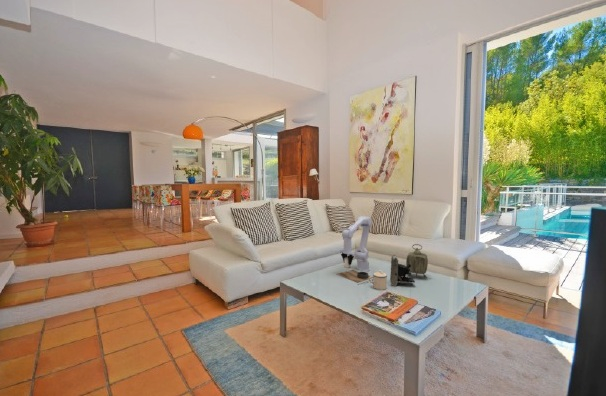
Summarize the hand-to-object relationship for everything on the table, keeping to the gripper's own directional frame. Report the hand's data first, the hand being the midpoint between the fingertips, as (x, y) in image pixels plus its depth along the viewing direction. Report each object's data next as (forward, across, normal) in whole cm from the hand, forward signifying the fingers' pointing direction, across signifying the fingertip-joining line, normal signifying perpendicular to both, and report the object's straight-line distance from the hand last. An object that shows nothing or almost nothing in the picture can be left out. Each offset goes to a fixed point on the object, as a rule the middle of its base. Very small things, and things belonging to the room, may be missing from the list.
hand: (347, 263), depth 208 cm
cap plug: (+3, 0, 0) cm, 3 cm away
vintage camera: (+11, +33, +21) cm, 41 cm away
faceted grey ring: (+9, +10, +6) cm, 14 cm away
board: (+10, +4, +3) cm, 12 cm away
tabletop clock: (+11, +31, +42) cm, 53 cm away
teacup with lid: (+11, +26, +2) cm, 29 cm away
